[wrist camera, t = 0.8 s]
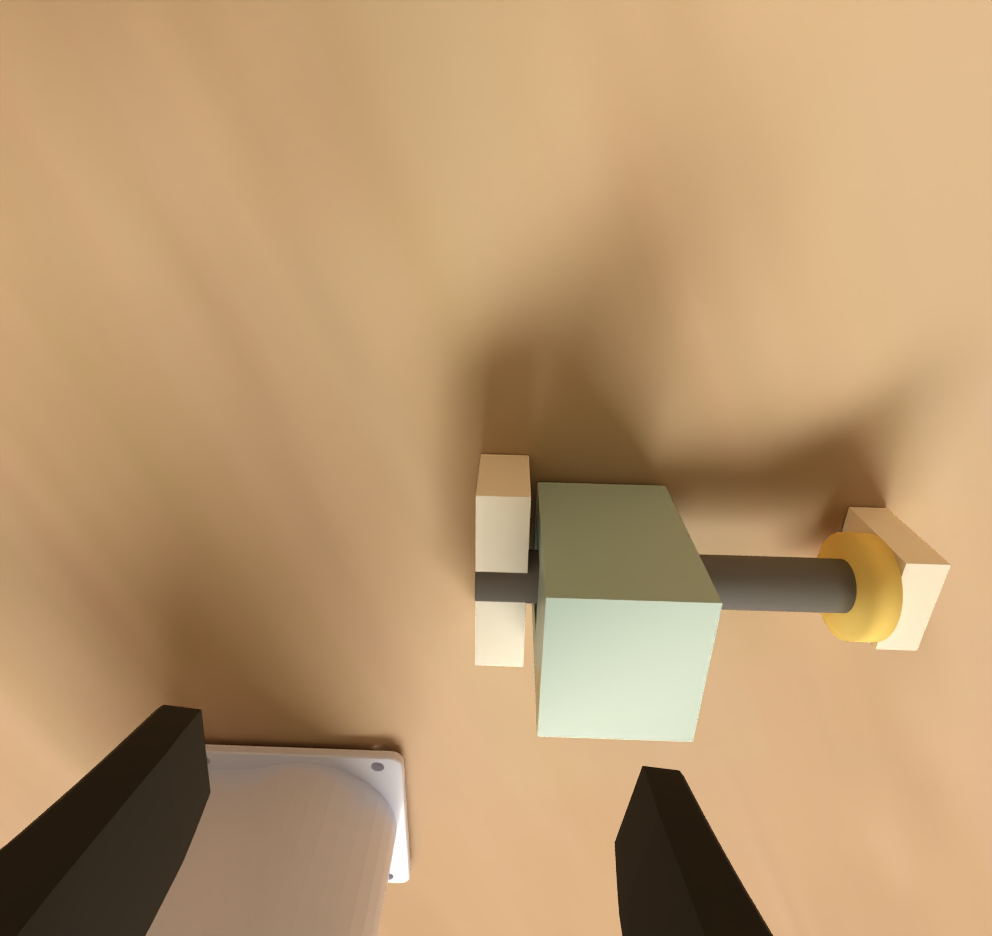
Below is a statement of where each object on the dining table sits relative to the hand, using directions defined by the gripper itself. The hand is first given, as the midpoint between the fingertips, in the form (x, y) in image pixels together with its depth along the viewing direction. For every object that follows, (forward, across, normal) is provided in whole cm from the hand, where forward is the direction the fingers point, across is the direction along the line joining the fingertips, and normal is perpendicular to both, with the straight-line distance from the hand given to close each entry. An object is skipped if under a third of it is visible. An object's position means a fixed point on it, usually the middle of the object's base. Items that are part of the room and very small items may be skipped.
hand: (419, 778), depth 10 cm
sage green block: (+11, -4, +2) cm, 12 cm away
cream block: (+11, -13, +1) cm, 17 cm away
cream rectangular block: (+11, -1, +2) cm, 11 cm away
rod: (+11, -7, +1) cm, 13 cm away
